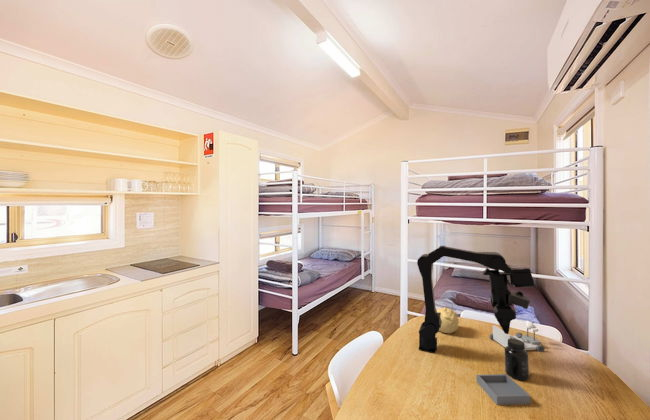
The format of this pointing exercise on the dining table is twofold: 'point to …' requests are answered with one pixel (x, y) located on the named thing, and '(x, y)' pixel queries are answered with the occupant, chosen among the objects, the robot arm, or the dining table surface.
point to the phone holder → (518, 337)
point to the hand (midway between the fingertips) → (504, 328)
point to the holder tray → (503, 389)
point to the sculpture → (448, 320)
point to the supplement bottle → (516, 360)
